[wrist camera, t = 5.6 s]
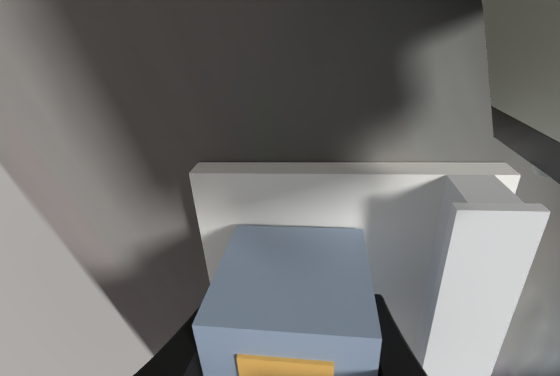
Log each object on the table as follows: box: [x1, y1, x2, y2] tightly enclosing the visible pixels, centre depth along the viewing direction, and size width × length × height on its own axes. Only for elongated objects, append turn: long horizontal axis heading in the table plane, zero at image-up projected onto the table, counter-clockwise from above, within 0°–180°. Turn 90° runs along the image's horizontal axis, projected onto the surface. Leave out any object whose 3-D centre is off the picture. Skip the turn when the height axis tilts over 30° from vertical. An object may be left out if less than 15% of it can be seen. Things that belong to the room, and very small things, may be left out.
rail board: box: [189, 162, 550, 376], centre depth 13 cm, size 12×11×3 cm
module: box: [192, 225, 382, 376], centre depth 11 cm, size 5×4×5 cm
